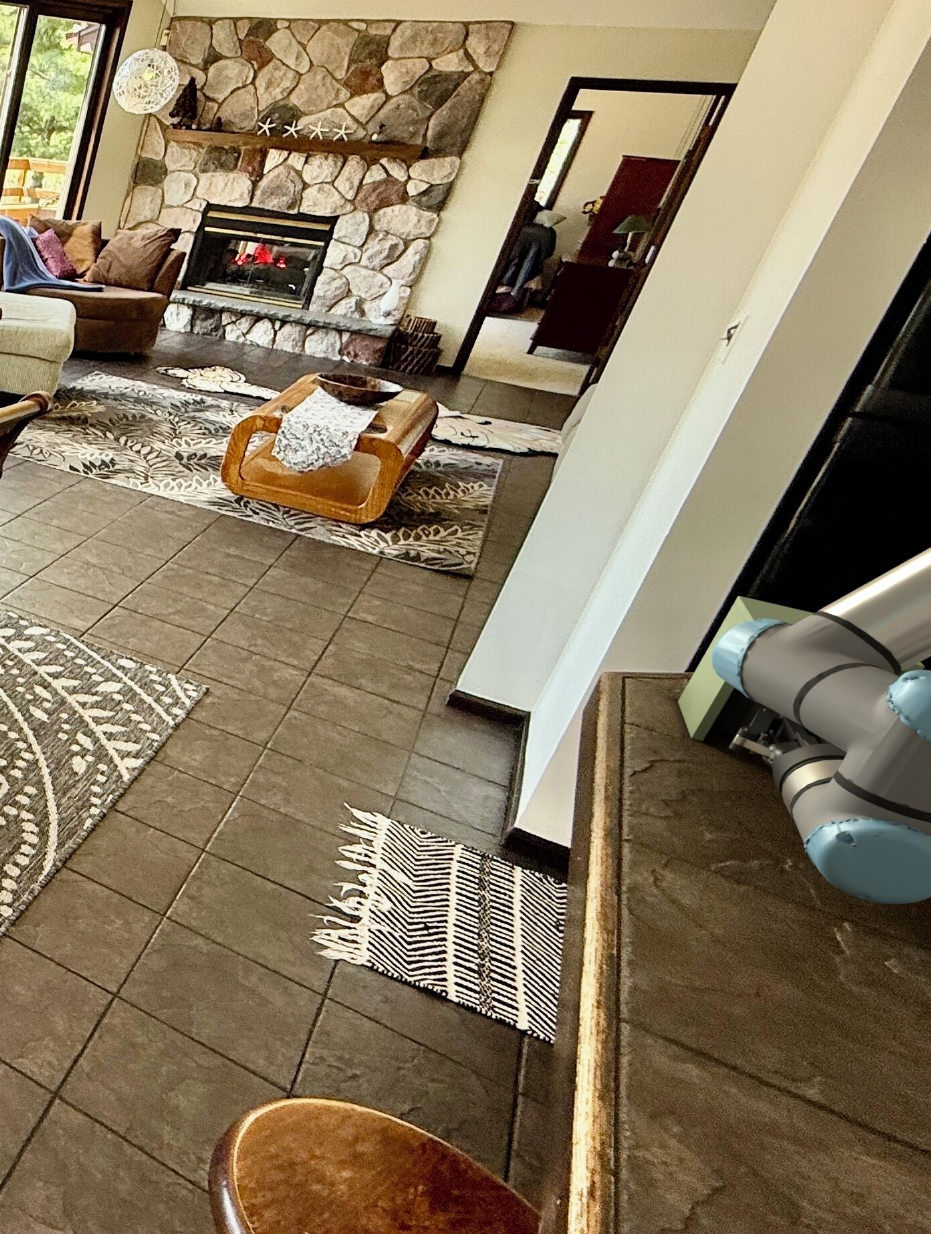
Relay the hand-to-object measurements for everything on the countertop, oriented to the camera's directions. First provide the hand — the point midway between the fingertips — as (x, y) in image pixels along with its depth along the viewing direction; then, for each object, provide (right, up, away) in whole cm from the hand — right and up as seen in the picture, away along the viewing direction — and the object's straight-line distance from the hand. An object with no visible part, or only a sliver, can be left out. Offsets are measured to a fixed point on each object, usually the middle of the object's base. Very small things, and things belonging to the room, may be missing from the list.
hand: (786, 705), depth 113 cm
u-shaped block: (+1, -5, +4) cm, 7 cm away
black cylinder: (+2, -5, +5) cm, 7 cm away
